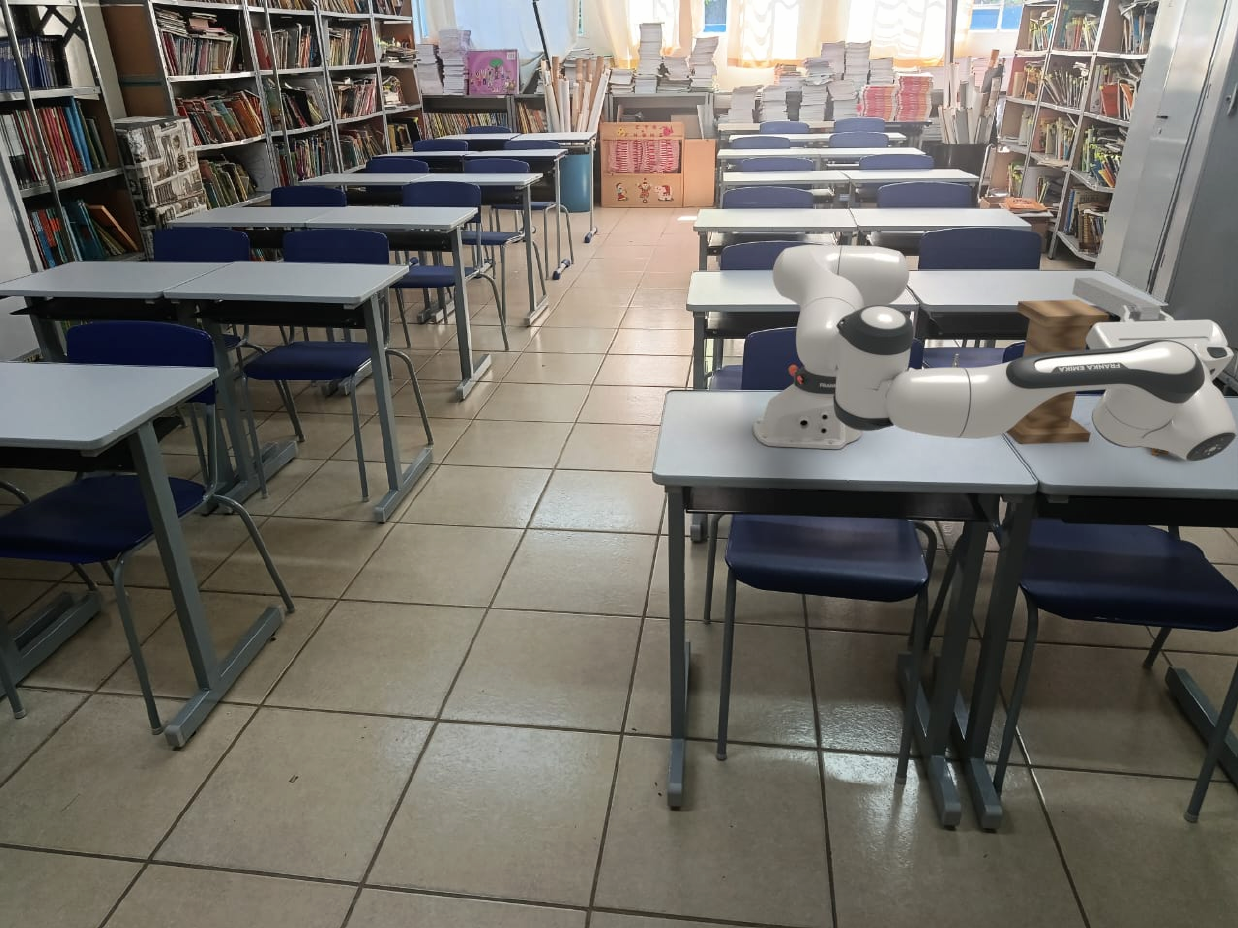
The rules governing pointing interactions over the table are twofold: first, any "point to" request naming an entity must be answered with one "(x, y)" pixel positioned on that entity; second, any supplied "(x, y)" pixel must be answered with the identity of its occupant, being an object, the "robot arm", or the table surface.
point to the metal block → (1114, 299)
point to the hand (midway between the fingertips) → (1137, 307)
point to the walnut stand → (1055, 332)
